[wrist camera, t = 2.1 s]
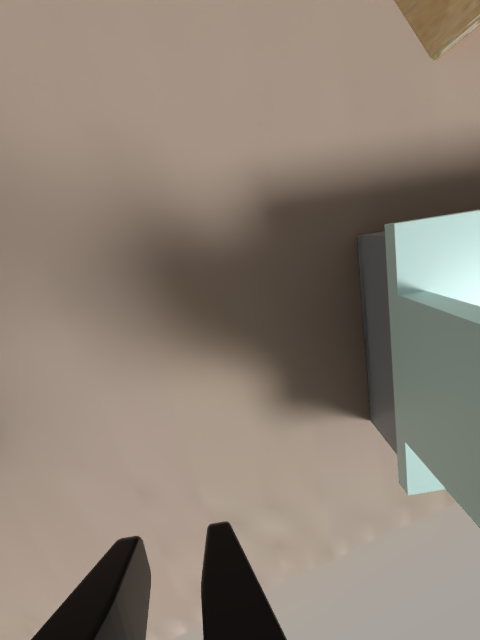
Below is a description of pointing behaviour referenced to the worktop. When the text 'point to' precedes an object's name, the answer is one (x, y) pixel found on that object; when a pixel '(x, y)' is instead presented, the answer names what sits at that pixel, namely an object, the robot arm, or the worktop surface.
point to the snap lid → (436, 353)
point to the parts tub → (377, 333)
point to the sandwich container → (440, 22)
